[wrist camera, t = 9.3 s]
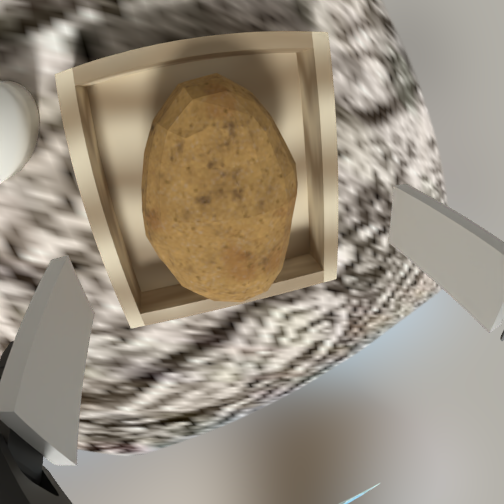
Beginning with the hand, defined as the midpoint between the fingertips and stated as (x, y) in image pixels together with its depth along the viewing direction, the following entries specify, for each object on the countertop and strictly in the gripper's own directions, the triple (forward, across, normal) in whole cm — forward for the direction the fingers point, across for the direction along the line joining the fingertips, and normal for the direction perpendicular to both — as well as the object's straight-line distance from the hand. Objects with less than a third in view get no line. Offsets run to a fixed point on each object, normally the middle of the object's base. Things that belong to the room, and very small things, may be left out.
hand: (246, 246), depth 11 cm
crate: (+13, 0, -1) cm, 13 cm away
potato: (+12, 0, -1) cm, 13 cm away
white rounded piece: (+14, -16, +7) cm, 22 cm away
